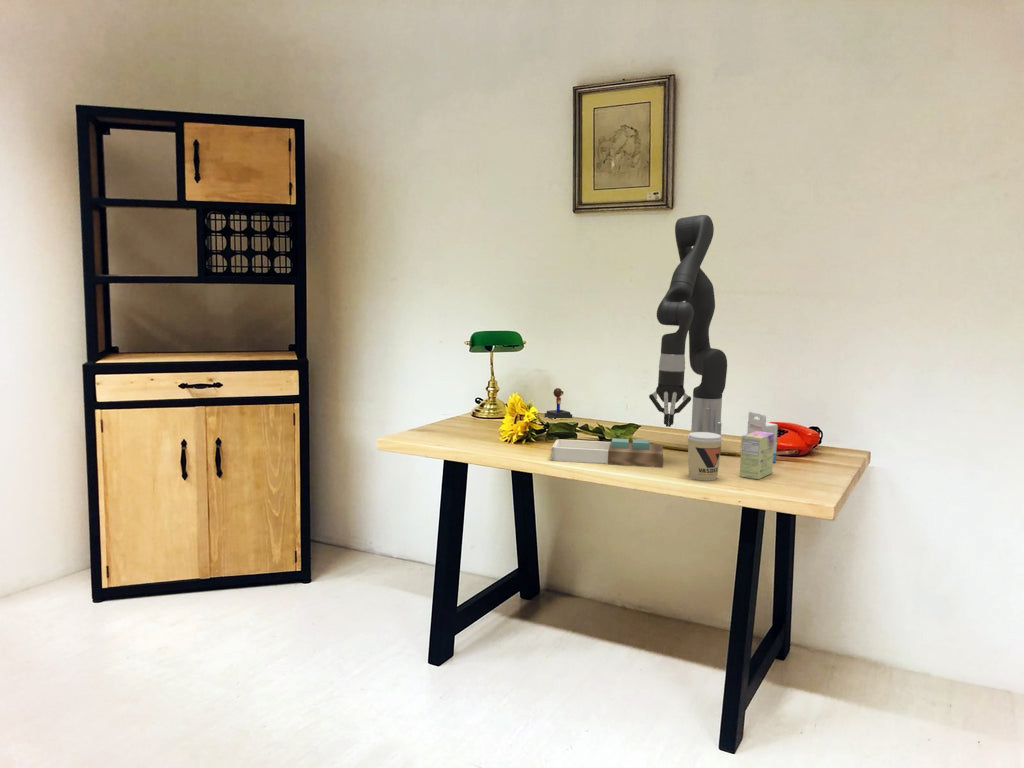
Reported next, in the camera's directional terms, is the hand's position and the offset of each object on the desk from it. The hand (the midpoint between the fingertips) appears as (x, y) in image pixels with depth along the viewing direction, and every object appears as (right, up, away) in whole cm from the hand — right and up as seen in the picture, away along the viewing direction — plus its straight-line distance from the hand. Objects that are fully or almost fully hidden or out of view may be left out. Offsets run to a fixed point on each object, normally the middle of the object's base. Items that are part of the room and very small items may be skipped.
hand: (668, 426), depth 229 cm
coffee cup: (+6, -14, -16) cm, 22 cm away
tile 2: (-8, -7, +2) cm, 11 cm away
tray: (-25, -10, +6) cm, 28 cm away
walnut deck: (-9, -11, +3) cm, 14 cm away
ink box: (+30, -11, +6) cm, 32 cm away
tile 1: (-14, -6, +3) cm, 16 cm away
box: (+22, -13, -13) cm, 29 cm away
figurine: (-28, -1, +76) cm, 81 cm away
